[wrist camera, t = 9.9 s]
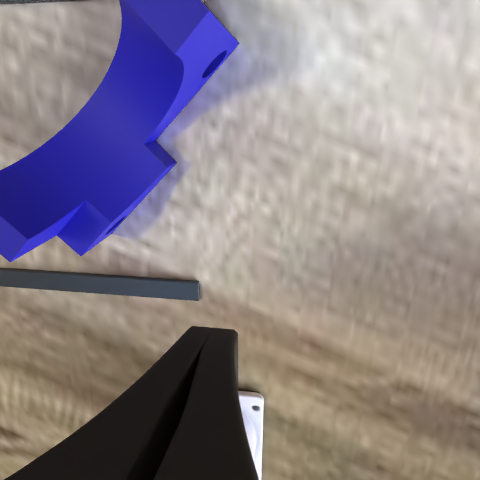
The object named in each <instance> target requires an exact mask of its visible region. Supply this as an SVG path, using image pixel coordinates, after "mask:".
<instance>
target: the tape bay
mask: <svg viewBox="0 0 480 480" xmlns="http://www.w3.org/2000/svg"><path fill="white" fill-rule="evenodd" d="M48 1H69V0H0V4H5V3H27V2H48ZM0 286H5V287H18V288H32V289H45V290H59V291H72V292H86V293H99V294H113V295H126V296H140V297H153V298H167V299H180V300H194V301H199V300H200V288H199V281H189V280H173V279H158V278H143V277H128V276H113V275H98V274H83V273H68V272H53V271H38V270H22V269H7V268H0Z"/></svg>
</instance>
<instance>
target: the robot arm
mask: <svg viewBox="0 0 480 480" xmlns="http://www.w3.org/2000/svg"><path fill="white" fill-rule="evenodd" d="M263 403H264V399H263V396H262V395H261V394H259V393H255V392H246V391H238V333H237V332H236V331H235V330H232V329H221V328H209V327H197V326H192V327H190V328H189V329H188V330H187V331H186V332H185V333H184V334H183V335H182V336H181V337H180V338H179V339H178V341H177V342H176V343H175V344H174V345H173V346H172V347H171V348H170V349H169V350H168V351H167V352H166V353H165V354H164V355H163V356H162V357H161V358H160V359H159V360H158V361H157V362H156V363H155V364H154V365H153V366H152V367H151V368H150V369H149V370H148V371H147V372H146V373H145V374H144V375H143V376H141V377H140V378H139V379H138V380H137V381H136V382H135V383H134V384H133V385H132V386H130V387H129V388H128V389H127V390H126V391H125V392H124V393H123V394H121V395H120V396H119V397H118V398H117V399H116V400H115V401H113V402H112V403H111V404H110V405H109V406H108V407H106V408H105V409H104V410H103V411H101V412H100V413H99V414H98V415H96V416H95V417H94V418H93V419H91V420H90V421H89V422H88V423H86V424H85V425H84V426H82V427H81V428H80V429H78V430H77V431H76V432H74V433H73V434H72V435H70V436H69V437H67V438H66V439H65V440H63V441H62V442H60V443H59V444H58V445H56V446H55V447H53V448H52V449H50V450H49V451H47V452H46V453H44V454H43V455H41V456H40V457H38V458H37V459H35V460H34V461H32V462H31V463H29V464H28V465H26V466H25V467H23V468H22V469H20V470H19V471H17V472H16V473H14V474H13V475H11V476H9V477H8V478H6V479H4V480H261V471H262V437H263ZM254 405H256V406H254Z"/></svg>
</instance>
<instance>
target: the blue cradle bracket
mask: <svg viewBox="0 0 480 480" xmlns="http://www.w3.org/2000/svg"><path fill="white" fill-rule="evenodd" d="M119 1H120V6H121V13H122V27H121V34H120V39H119V44H118V47H117V50H116V53H115V56H114V58H113V61H112V63H111V65H110V68H109V70H108V72H107V74H106V75H105V77H104V79H103V81H102V82H101V84H100V85H99V87H98V88H97V90H96V91H95V93H94V94H93V96H92V97H91V98H90V100H89V101H88V102H87V103H86V105H85V106H84V107H83V108H82V109H81V110H80V111H79V113H78V114H77V115H76V116H75V117H74V118H73V119H72V120H71V121H70V122H69V123H68V124H67V125H66V126H65V127H64V128H63V129H62V130H60V131H59V132H58V133H57V134H56V135H55V136H54V137H52V138H51V139H50V140H49V141H47V142H46V143H45V144H43V145H42V146H41V147H39V148H38V149H36V150H35V151H33V152H32V153H30V154H29V155H27V156H26V157H24V158H22V159H21V160H19V161H17V162H16V163H14V164H12V165H10V166H8V167H6V168H4V169H2V170H0V254H1V255H2V256H3V257H5V258H6V259H7V260H8V261H9V262H11V261H13V260H15V259H17V258H18V257H20V256H22V255H24V254H25V253H27V252H29V251H30V250H32V249H34V248H36V247H37V246H39V245H41V244H43V243H44V242H46V241H48V240H49V239H51V238H53V237H55V236H56V235H57V236H58V237H60V238H61V239H62V240H63V241H64V242H65V243H66V244H68V245H69V246H70V247H71V248H72V249H73V250H74V251H75V252H77V253H78V254H79V255H80V256H82V255H83V254H85V253H86V252H87V251H89V250H90V249H91V248H93V247H94V246H95V245H97V244H98V243H99V242H101V241H102V240H103V239H105V238H106V237H107V236H109V235H110V234H111V233H112V232H113V231H114V230H115V229H116V228H117V227H118V226H119V224H120V223H121V222H122V221H123V220H124V219H125V218H126V217H127V216H128V215H129V214H130V213H131V212H132V210H133V209H134V208H135V207H136V206H137V205H138V204H139V203H140V202H141V201H142V200H143V199H144V198H145V196H146V195H147V194H148V193H149V192H150V191H151V190H152V189H153V188H154V187H155V186H156V185H157V183H158V182H159V181H160V180H161V179H162V178H163V177H164V176H165V175H166V174H167V173H168V172H169V171H170V169H171V168H172V167H173V166H174V165H175V164H176V163H177V162H176V161H175V160H174V159H173V158H172V157H171V156H170V155H169V154H168V153H167V152H166V151H165V150H164V149H163V148H162V147H161V146H160V145H159V144H158V143H157V142H156V141H155V140H156V139H157V138H158V137H159V136H160V135H161V133H162V132H163V131H164V130H165V129H166V128H167V127H168V125H169V124H170V123H171V122H172V121H173V120H174V118H175V117H176V116H177V115H178V114H179V113H180V111H181V110H182V109H183V108H184V107H185V106H186V105H187V103H188V102H189V101H190V100H191V99H192V98H193V96H194V95H195V94H196V93H197V92H198V91H199V89H200V88H201V87H202V86H203V85H204V84H205V83H206V81H207V80H208V79H209V78H210V77H211V76H212V74H213V73H214V72H215V71H216V70H217V69H218V68H219V66H220V65H221V64H222V63H223V62H224V61H225V59H226V58H227V57H228V56H229V55H230V54H231V52H232V51H233V50H234V49H235V48H236V47H237V46H238V44H239V43H238V42H237V41H236V39H235V38H234V37H233V36H232V35H231V34H230V32H229V31H228V30H227V29H226V28H225V27H224V25H223V24H222V23H221V22H220V21H219V20H218V19H217V17H216V16H215V15H214V14H213V13H212V12H211V10H210V9H209V8H208V7H207V6H206V5H205V3H204V2H203V1H202V0H119Z"/></svg>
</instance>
